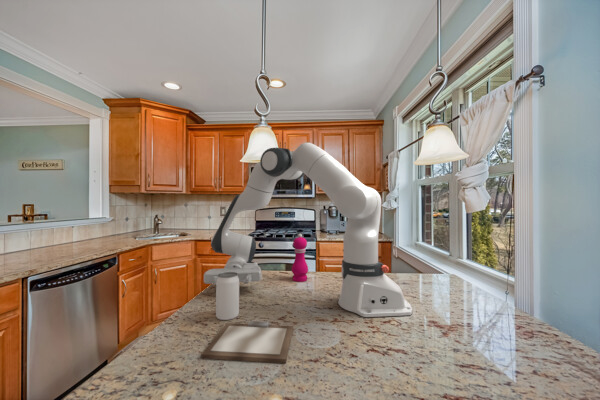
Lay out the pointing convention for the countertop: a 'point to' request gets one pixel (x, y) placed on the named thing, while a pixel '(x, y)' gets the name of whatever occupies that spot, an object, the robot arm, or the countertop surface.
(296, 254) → the pepper mill
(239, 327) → the clipboard
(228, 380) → the countertop surface
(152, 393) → the countertop surface
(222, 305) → the can
